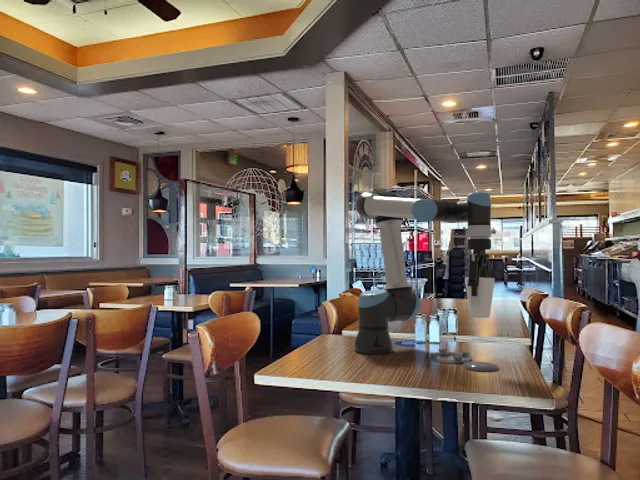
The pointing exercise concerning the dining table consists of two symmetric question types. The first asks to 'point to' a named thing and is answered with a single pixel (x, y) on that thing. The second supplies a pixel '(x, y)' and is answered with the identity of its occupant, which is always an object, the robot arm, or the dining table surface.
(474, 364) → the coaster
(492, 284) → the foam cup
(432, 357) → the collar
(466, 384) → the dining table surface
